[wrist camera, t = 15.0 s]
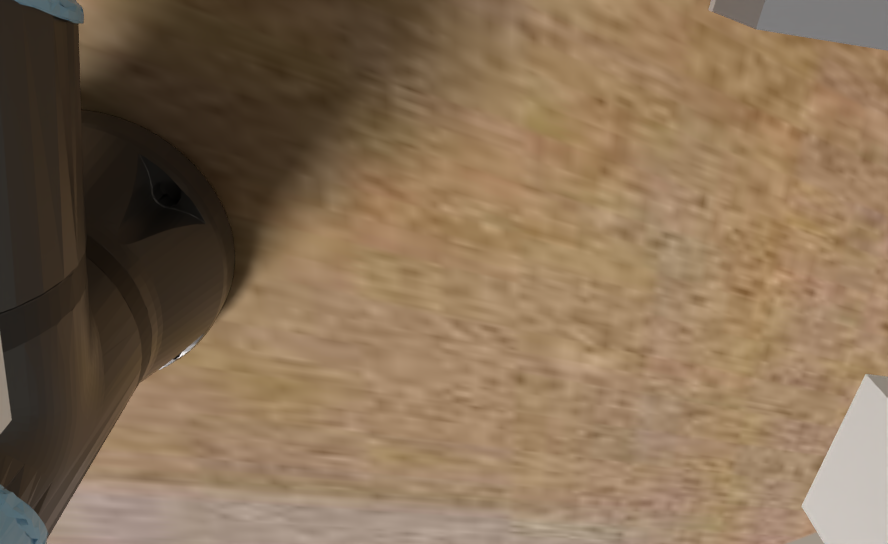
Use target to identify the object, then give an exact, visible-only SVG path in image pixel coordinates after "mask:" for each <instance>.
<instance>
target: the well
mask: <svg viewBox="0 0 888 544" xmlns="http://www.w3.org/2000/svg"><path fill="white" fill-rule="evenodd" d="M708 10H709V11H712V12H714V13H717V14H719V15H722V16H724V17H727V18H729V19H732V20H734V21H737V22H739V23H742V24H744V25H747V26H749V27H752V28H754V29H758V30H764V31H770V32H776V33H783V34H789V35H795V36H801V37H807V38H814V39H820V40H826V41H832V42H838V43H844V44H851V45H857V46H863V47H869V48H875V49H882V50H888V0H711V3H710V6H709V9H708Z"/></svg>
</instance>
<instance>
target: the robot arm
mask: <svg viewBox="0 0 888 544" xmlns="http://www.w3.org/2000/svg"><path fill="white" fill-rule="evenodd" d="M83 22H84V14H83V9H82V6H81V5H79V4H78V3H77V1H76V0H0V544H47V538H48V536H49V535H50V533H51V531H52V530H53V528H54V526H55V525H56V523H57V521H58V520H59V518H60V516H61V514H62V513H63V511H64V509H65V508H66V506H67V504H68V503H69V501H70V499H71V498H72V496H73V494H74V492H75V491H76V489H77V487H78V486H79V484H80V482H81V481H82V479H83V477H84V476H85V474H86V472H87V470H88V469H89V467H90V465H91V464H92V462H93V460H94V459H95V457H96V455H97V454H98V452H99V450H100V448H101V447H102V445H103V443H104V442H105V440H106V438H107V437H108V435H109V433H110V432H111V430H112V428H113V426H114V425H115V423H116V421H117V420H118V418H119V416H120V415H121V413H122V411H123V410H124V408H125V406H126V404H127V403H128V401H129V399H130V398H131V396H132V394H133V393H134V391H135V389H136V388H137V386H138V384H139V383H140V382H142V381H143V380H144V379H146V378H147V377H149V376H150V375H152V374H153V373H154V372H156V371H157V370H160V369H162V368H164V367H166V366H168V365H170V364H171V363H173V362H175V361H176V360H178V359H180V358H181V357H183V356H184V355H185V354H187V353H188V352H189V351H190V350H192V349H193V348H194V347H195V346H196V345H197V344H198V343H199V342H200V341H201V340H202V338H203V337H204V336H205V335H206V334H207V332H208V331H209V330H210V328H211V327H212V325H213V323H214V322H215V320H216V318H217V316H218V314H219V312H220V310H221V308H222V307H223V305H224V303H225V301H226V298H227V296H228V294H229V291H230V288H231V284H232V280H233V274H234V266H235V251H234V242H233V236H232V232H231V228H230V224H229V222H228V219H227V216H226V213H225V211H224V209H223V206H222V204H221V203H220V201H219V199H218V197H217V195H216V193H215V192H214V190H213V189H212V187H211V186H210V184H209V183H208V181H207V180H206V179H205V178H204V176H203V175H202V174H201V173H200V171H199V170H198V169H197V168H196V167H195V166H194V165H193V164H192V163H191V162H190V161H189V160H188V159H187V158H186V157H185V156H184V155H183V154H182V153H180V152H179V151H178V150H177V149H176V148H174V147H173V146H172V145H170V144H169V143H167V142H166V141H165V140H163V139H162V138H160V137H158V136H157V135H155V134H153V133H152V132H150V131H148V130H146V129H144V128H142V127H140V126H138V125H136V124H134V123H131V122H129V121H126V120H123V119H120V118H117V117H114V116H111V115H107V114H103V113H98V112H92V111H85V110H81V94H80V61H79V28H78V24H80V23H83ZM802 508H803V509H804V511H805V513H806V514H807V516H808V518H809V519H810V521H811V523H812V524H813V526H814V528H815V529H816V531H817V532H818V534H819V536H820V537H821V539H822V541H823V542H824V544H888V377H886V376H878V375H870V374H866V375H865V377H864V379H863V381H862V383H861V385H860V387H859V389H858V391H857V393H856V395H855V397H854V399H853V401H852V403H851V405H850V407H849V410H848V412H847V414H846V416H845V418H844V420H843V422H842V424H841V426H840V428H839V430H838V432H837V434H836V436H835V438H834V440H833V442H832V445H831V447H830V449H829V451H828V453H827V455H826V457H825V459H824V461H823V463H822V465H821V467H820V469H819V471H818V473H817V475H816V477H815V479H814V482H813V484H812V486H811V488H810V490H809V492H808V494H807V496H806V498H805V500H804V502H803V504H802Z"/></svg>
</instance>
